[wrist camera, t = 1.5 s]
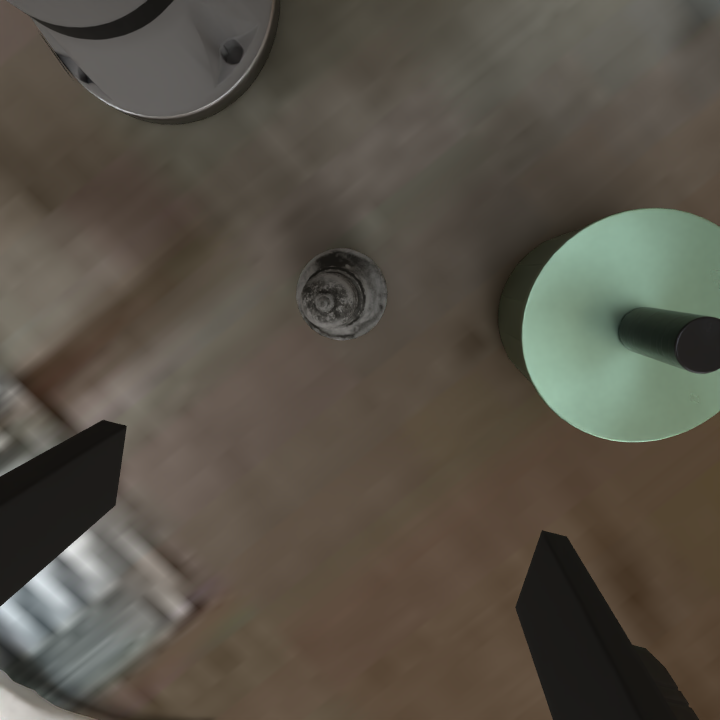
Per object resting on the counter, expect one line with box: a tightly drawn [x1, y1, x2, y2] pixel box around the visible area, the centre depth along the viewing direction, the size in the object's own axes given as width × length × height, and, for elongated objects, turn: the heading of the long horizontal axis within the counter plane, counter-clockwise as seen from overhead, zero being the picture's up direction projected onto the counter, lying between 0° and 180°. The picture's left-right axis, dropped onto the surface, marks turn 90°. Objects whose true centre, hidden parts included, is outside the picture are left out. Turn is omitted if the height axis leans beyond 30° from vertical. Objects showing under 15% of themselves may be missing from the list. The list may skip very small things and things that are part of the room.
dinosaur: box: [0, 669, 99, 720], centre depth 43 cm, size 25×9×16 cm
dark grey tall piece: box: [296, 248, 387, 340], centre depth 30 cm, size 6×6×12 cm
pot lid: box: [520, 208, 720, 442], centre depth 24 cm, size 12×12×7 cm
